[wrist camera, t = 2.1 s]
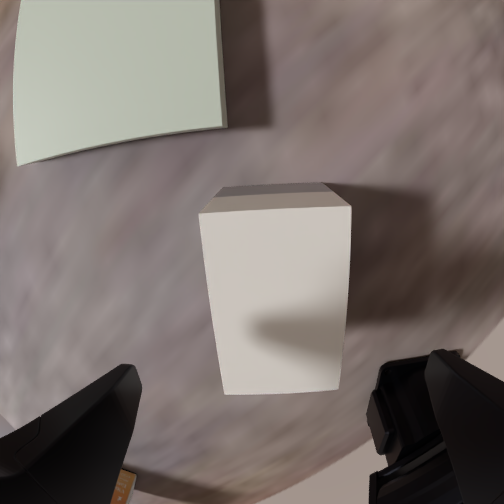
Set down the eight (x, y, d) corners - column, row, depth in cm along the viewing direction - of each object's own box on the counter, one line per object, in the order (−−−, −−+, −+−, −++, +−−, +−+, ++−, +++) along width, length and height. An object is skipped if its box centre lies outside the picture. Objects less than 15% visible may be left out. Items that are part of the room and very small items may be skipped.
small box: (137, 473, 26) (113, 550, 16) (134, 489, 28) (113, 557, 18) (71, 444, 26) (36, 514, 16) (74, 464, 27) (45, 526, 17)
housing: (321, 182, 16) (351, 205, 10) (320, 319, 18) (338, 389, 13) (222, 187, 16) (198, 213, 10) (236, 323, 19) (224, 394, 13)
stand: (216, -59, 11) (210, -77, 9) (227, 127, 15) (222, 125, 13) (40, -3, 12) (23, -11, 10) (37, 162, 16) (17, 166, 14)
